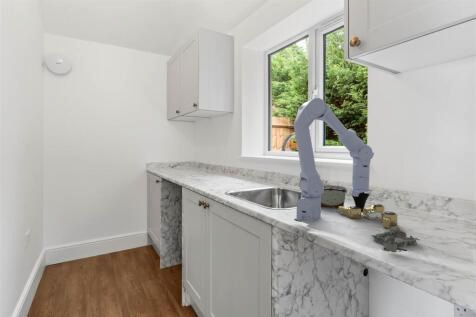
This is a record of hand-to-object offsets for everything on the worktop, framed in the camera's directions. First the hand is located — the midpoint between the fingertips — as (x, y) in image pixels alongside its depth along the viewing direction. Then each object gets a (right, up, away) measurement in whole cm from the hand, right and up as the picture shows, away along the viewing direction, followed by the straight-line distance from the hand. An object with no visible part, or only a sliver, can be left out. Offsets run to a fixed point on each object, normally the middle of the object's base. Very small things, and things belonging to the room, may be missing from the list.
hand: (359, 212), depth 96 cm
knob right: (+3, -2, -13) cm, 13 cm away
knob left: (-5, -1, -2) cm, 5 cm away
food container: (-6, -2, +13) cm, 15 cm away
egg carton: (-3, -4, -27) cm, 27 cm away
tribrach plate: (+2, -3, -5) cm, 6 cm away
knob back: (+5, -1, -1) cm, 5 cm away
